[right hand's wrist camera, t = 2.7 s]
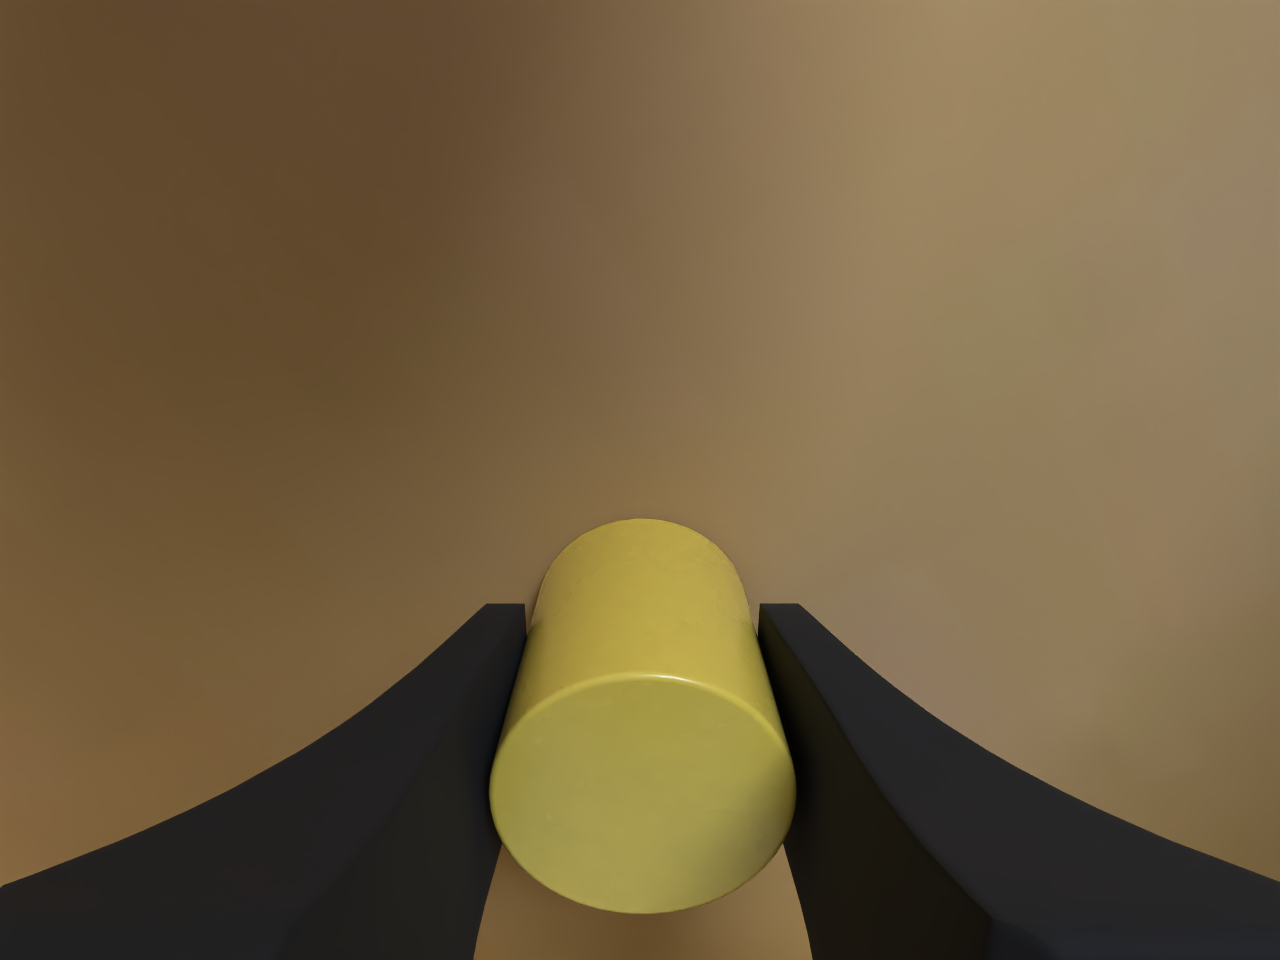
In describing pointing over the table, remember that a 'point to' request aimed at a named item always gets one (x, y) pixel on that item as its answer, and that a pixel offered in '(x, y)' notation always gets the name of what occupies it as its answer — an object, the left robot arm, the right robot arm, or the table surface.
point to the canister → (642, 728)
